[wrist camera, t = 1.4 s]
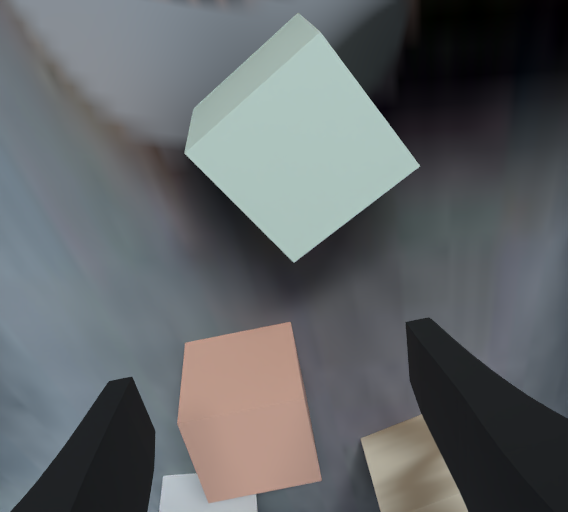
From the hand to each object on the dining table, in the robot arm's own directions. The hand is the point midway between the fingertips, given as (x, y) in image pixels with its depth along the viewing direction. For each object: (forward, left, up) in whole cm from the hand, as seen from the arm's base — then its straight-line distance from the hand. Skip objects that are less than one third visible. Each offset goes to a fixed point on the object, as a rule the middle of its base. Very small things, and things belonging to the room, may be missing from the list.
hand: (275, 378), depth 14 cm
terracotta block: (+2, +8, -10) cm, 13 cm away
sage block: (-2, -4, -10) cm, 10 cm away
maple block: (-6, +16, -10) cm, 20 cm away
